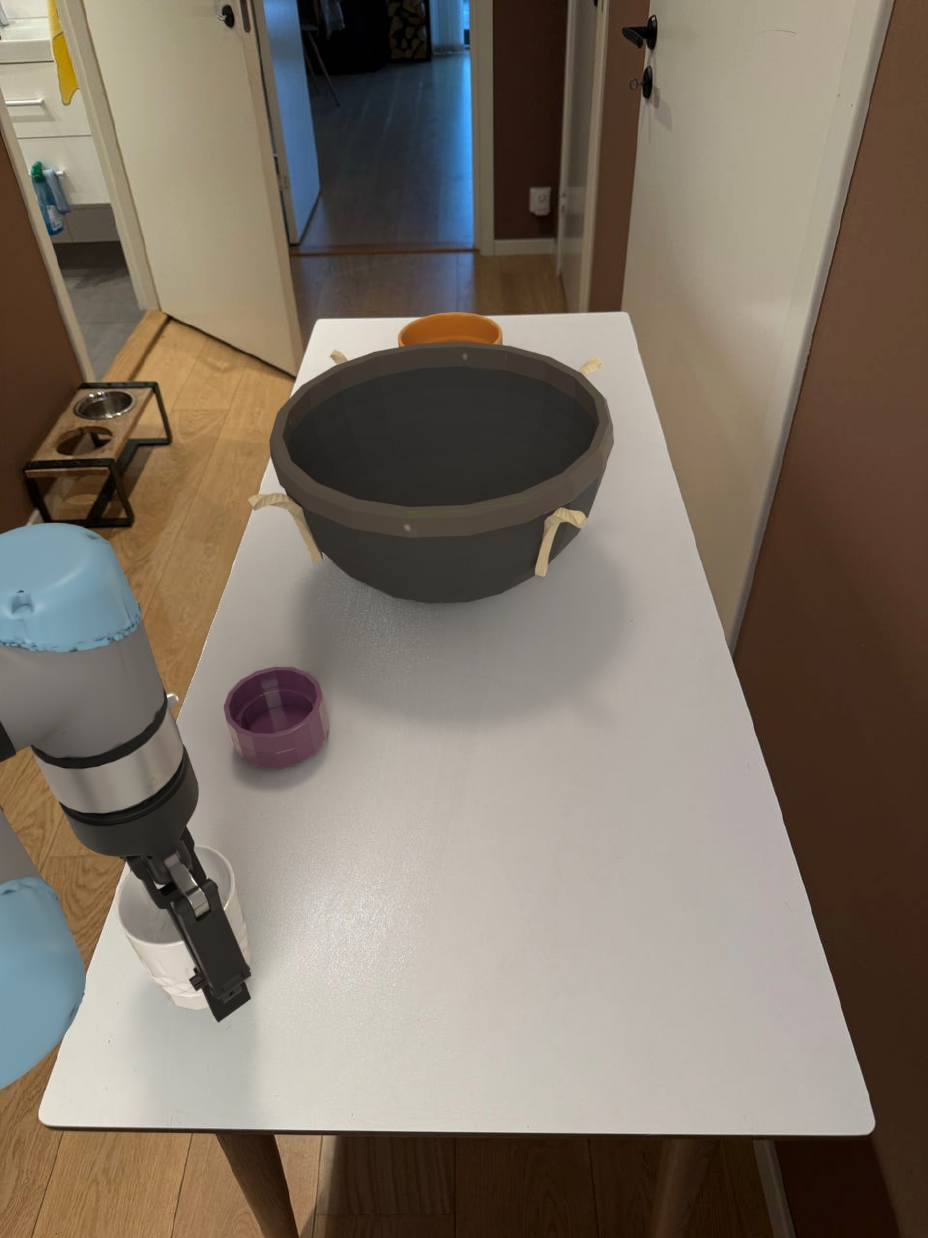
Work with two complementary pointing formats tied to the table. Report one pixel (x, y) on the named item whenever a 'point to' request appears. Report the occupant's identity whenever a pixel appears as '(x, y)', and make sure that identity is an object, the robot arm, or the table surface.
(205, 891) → the robot arm
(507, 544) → the bowl
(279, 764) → the plum dish
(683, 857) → the table surface
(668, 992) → the table surface
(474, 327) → the flower pot
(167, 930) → the white cup
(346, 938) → the table surface
